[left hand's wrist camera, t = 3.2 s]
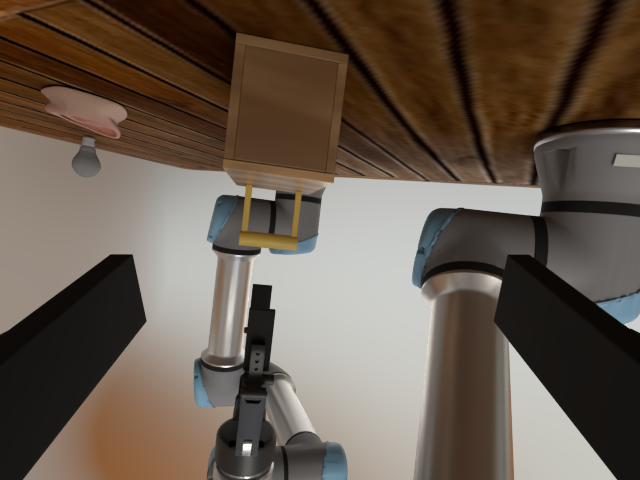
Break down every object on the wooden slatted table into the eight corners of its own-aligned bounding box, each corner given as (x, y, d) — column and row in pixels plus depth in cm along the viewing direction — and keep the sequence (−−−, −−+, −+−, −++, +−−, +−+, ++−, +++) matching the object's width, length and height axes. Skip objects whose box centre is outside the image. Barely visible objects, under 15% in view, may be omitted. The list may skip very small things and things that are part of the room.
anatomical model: (34, 109, 48) (130, 130, 54) (36, 79, 48) (133, 103, 54) (44, 125, 59) (123, 141, 65) (46, 101, 59) (125, 119, 65)
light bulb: (99, 136, 86) (95, 177, 87) (106, 141, 92) (102, 179, 93) (70, 131, 85) (66, 174, 85) (79, 136, 90) (76, 176, 91)
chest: (319, 109, 47) (310, 188, 48) (245, 96, 45) (237, 178, 46) (348, 54, 31) (334, 173, 32) (236, 32, 30) (223, 157, 30)
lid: (310, 188, 48) (303, 249, 48) (237, 179, 47) (230, 241, 47) (334, 174, 32) (323, 266, 32) (223, 158, 30) (213, 255, 30)
